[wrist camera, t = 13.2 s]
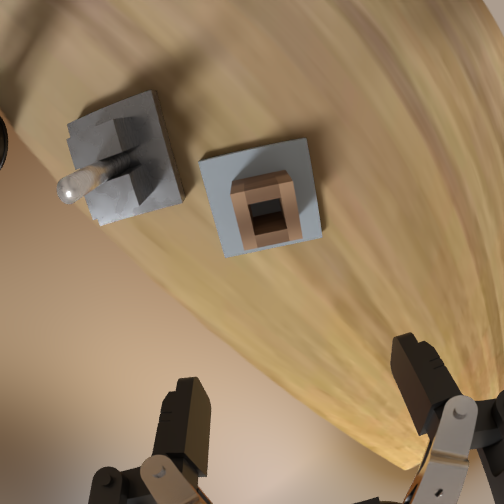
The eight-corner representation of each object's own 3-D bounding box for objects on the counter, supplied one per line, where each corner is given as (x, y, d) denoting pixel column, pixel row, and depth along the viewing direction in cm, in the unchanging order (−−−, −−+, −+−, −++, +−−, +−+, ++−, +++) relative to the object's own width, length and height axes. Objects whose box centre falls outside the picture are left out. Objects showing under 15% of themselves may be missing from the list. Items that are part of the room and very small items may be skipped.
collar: (232, 181, 31) (230, 194, 27) (285, 169, 31) (292, 181, 26) (244, 230, 34) (244, 250, 29) (294, 219, 33) (302, 238, 29)
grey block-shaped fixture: (75, 122, 28) (1, 140, 17) (156, 90, 28) (103, 83, 16) (106, 219, 33) (51, 275, 22) (185, 197, 33) (154, 250, 21)
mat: (199, 160, 31) (198, 162, 30) (304, 137, 30) (306, 138, 29) (225, 253, 36) (225, 257, 35) (320, 233, 35) (322, 237, 34)
